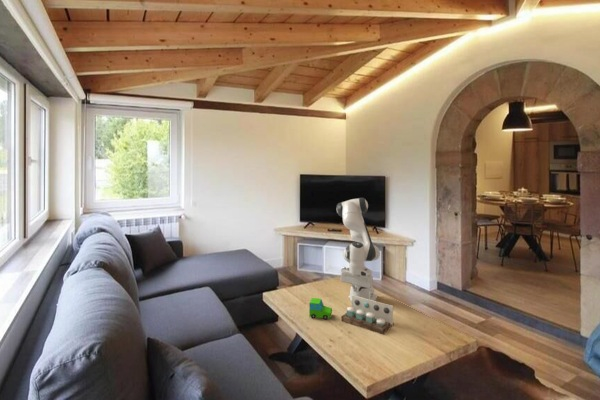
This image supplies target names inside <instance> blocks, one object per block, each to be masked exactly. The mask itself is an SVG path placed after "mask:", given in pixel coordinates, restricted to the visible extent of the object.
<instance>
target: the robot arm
mask: <svg viewBox="0 0 600 400" xmlns="http://www.w3.org/2000/svg"><path fill="white" fill-rule="evenodd" d="M368 208H369V204H368V201H367V200H366V198H364V197H358V198H352V199H348V200H345V201H341V202H338V203H337V204H336V213H337V214H338V216H340V218H342V223H343V226H344V227H345V228H346V229H348V230H349V233H350V238H351V240H352V241H353V242H352V243H351V244H348V245H347V246H346V247H345V248H344V249H343V252H342V254H343V258H344V260H345V261H346V262H348V264H349V267H346V266H342V268H341V270H340V271H341V272H340V282H341V283H344V284H345V283H346V284H350V285H351V286H350V291H349V295H348V296H347V297H348V299H349V300H350V302H352V295H353V296H357V297H361V298H365V299H369V300H373V301H377V299H378V294H376V293H375V289H374V287H373V286H374V277H373V275H372V274H373V270H371V269H370V268H368V267H366V266H365V262H373V261H376V260H378V259H379V258H380V255H381V253H380V249H379V248H378V246H377V245H375V244H374V243H373V241H372V238H371V236H370V233H369V232H370V231H369V230H368V226H367V225H366V223H365V220H364V217H363V216H365V213H367V212H368Z"/></svg>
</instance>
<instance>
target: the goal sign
mask: <svg viewBox="0 0 600 400" xmlns="http://www.w3.org/2000/svg"><path fill="white" fill-rule="evenodd" d="M351 307H354V308H355V313H357V310H359V309H361V310H364V311H365V316H366V313H368V312H372V313H374V314H375V319H379V318H380V319H384V320H385V322H389V323H390V328H391V327H393V326H394V325H395V323H394V305H391V304H388V303H383V302H380V301H377V300H375V301H373V300H369V299H365V298H361V297H357V296H353V295H352V301H351Z"/></svg>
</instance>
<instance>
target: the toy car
mask: <svg viewBox="0 0 600 400" xmlns="http://www.w3.org/2000/svg"><path fill="white" fill-rule="evenodd" d="M308 309H309V314H308V315H309V318H312V319H313V320H314V319H316V318H319V319H320V318H321V319H323V320H326V321H327V320H328V319H331V317H332V315H333V308H332V307H330V306H327V305H326V306H325V305H324V302H323V299H322V298H319V297H318V298H317V297H311V299H310V301H309V308H308Z"/></svg>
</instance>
